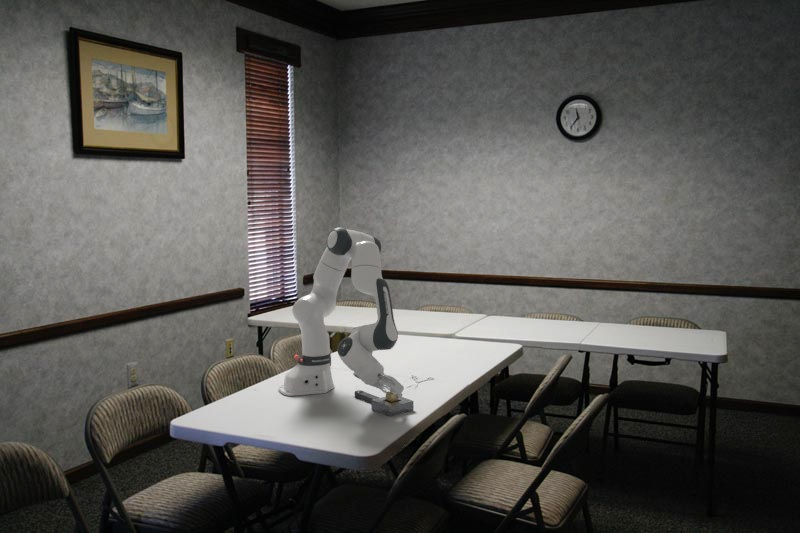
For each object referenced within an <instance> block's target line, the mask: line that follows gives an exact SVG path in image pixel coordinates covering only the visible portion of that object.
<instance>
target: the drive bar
mask: <svg viewBox="0 0 800 533" xmlns="http://www.w3.org/2000/svg"><path fill="white" fill-rule="evenodd" d="M385 397H386V402H389V403H394V402H398V397H397V396H395V394H392V393H390V392H387V391H386V393H385Z"/></svg>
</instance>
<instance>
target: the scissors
mask: <svg viewBox="0 0 800 533" xmlns="http://www.w3.org/2000/svg"><path fill="white" fill-rule="evenodd" d="M412 377H413V378H412ZM416 377H417V378H418V379H419V377H418V376H415V375H413V374H412V375H411V376H410V379H411V378H412V379H411V380H414V381H415V380H416V381H415V383H419V384H420V383H422V382H426V381H433V380H435V377H432V378H430V377H426V378H425V379H422V380H418V379H417V378H416ZM419 384H417V385H416V387H415V386H414V388H415V389H417V387H418V386H419Z"/></svg>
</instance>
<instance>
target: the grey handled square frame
mask: <svg viewBox="0 0 800 533" xmlns="http://www.w3.org/2000/svg"><path fill="white" fill-rule="evenodd" d="M354 398H356V399H358V400H362V401H364V402H367V403H369V404H370V405H371V410H372V411H375V412H377V413H380V414H381V415H385V416H387V417H393V416H397V415H400V414H405V413H409V412H411V411H414V400H411V399H409V398H406V397H403V396H402V397H401V398H398V402H394V403H389V402H386V396H382V397H379V396H376V395H374V394H371V393H369V392H366V391H364V390H359V389H358V390H355V391H354Z"/></svg>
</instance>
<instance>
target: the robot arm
mask: <svg viewBox="0 0 800 533" xmlns="http://www.w3.org/2000/svg"><path fill="white" fill-rule="evenodd" d="M326 238H327V239H326V248H325V250H324V251H323V253H322V255H321V257H320V260H319V262H318V264H317V266H316V269H315V271H314V273H313V277H312V278H313V286H312V289H311V292H309V294H307V295H303V296H302V297H300V298H298V299H297V300H296V301H295V302H294V304H293V305H292V310H291V311H292V315H293V317H294V319H295V320H296V321H297V322H298V326H299V329H300V333H301V348H302V350H301V351H302V352H301V354H300V355H299V354H295V355H293V357H294V359H295V360H296V361H297V364H296V365H295V366H293V368H291V369H290V370H289V371H288V372H287V373H286V374H285V376H284V382H283V385H279V386H278V392H279V393H280V394H282V395H284V396H289V397H294V396H295V397H296V396H305V395H317V394H327V392H329V391H330V390H333V389H334V388H335V383H334V381H333V376H332V370H331V367H332V354H331V352H330V350H331V349H330V334H329V332H328V331H327V328H326V325H325V322H324V321H325V320H324V319H325V318H327V317H329V316H330V315H331V314H332V313H333V312H334V311H335V310H336V306H337V295H338V292H339V288H340V285H341V282H342V280H343V278H344V276H345V273H346V272H347V269H348V266H349V264H350V262H351V272H350V273H351V275H350V277H351V278H350V279H351V282H352V286H353V287H354V289H356V290H357V292H358V291H359V292H361V293H363V294H366V295H370V296H372V297H374V300H375V306H376V314H377V320H376V322H375V323H371V324H370V323H369V324H364V325H360V326H357V327H354V328H353V329H352V330H351V331H350V334H349V335H348V336H346V337H344V338H342V339H341V340H340V341H339V343H338V345H337V355H338V357H339V359H340V360H341V361H342V363H344V365H345V366H346V367H347V368H348V369H350V370H351V371H353V373H352V375H353V376H354V377H355V378H357V379H359V380H361V381H362V382H363V384H365V385H369V386H371V387H373V388H376V389H379V390H380V391H382V392H383V393H385V394H386V391H387V392H390V393H392V394H395V396H397V397H398V398H401V397H403V391H404V389H405V387H404V385H403V384H401V382H399V381H398V379H396V378H395V377H393V376H392V375H390V374H386V373H384V370H385V367H384V366H383V365H382V363H380V361H379V360H378V359H376V358H375V357H374V356H373V352H376V351H387V350H392V349H393V348H394V346H395V345H396V343H397V341H398V338H399V334H398V330H397V325H396V323H395V318H394V311H393V304H392V296H391V291H390V286H389V284H388V282H387V281H386V280H385V279H384V278H383V275H382V259H381V252H382V244H381V241H380V240H379V239H378V238H377V237H376V236H373V235H371V234H367V233H365V232H362V231H359V230H354V229H353V230H352V229H347V228H344V227H335V228H333V229H331V231H330V232H329V233H328V234H327V237H326Z"/></svg>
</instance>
